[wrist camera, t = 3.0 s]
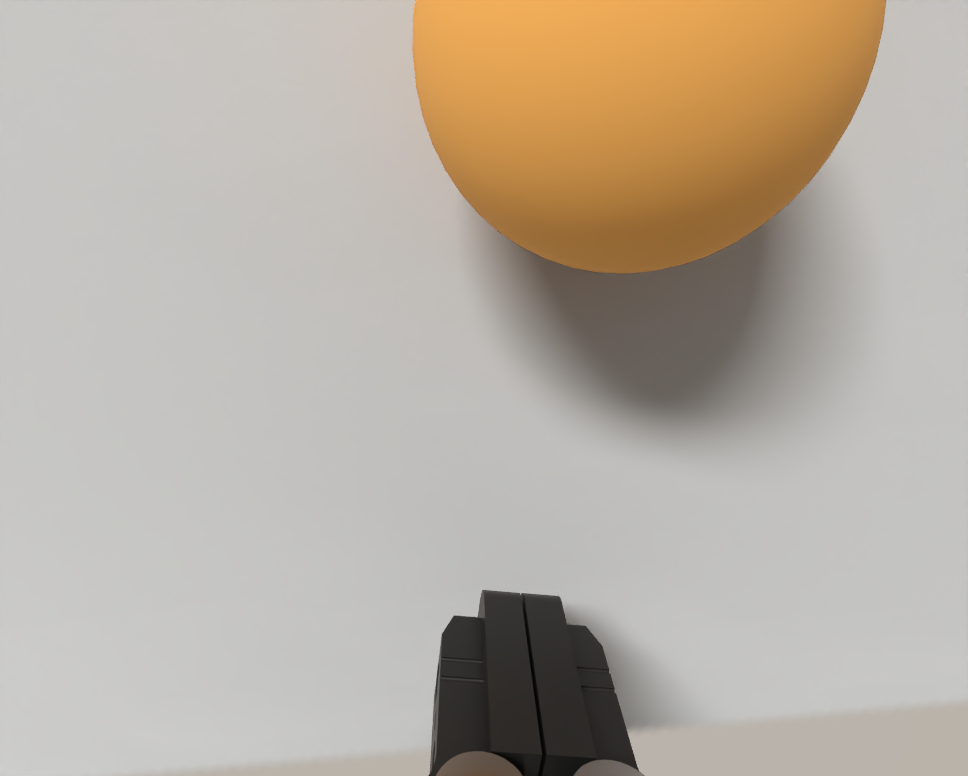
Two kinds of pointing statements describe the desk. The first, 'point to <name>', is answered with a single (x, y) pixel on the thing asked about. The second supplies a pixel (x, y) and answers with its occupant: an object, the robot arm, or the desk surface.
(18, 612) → the desk surface
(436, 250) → the desk surface
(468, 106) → the ball
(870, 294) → the desk surface
